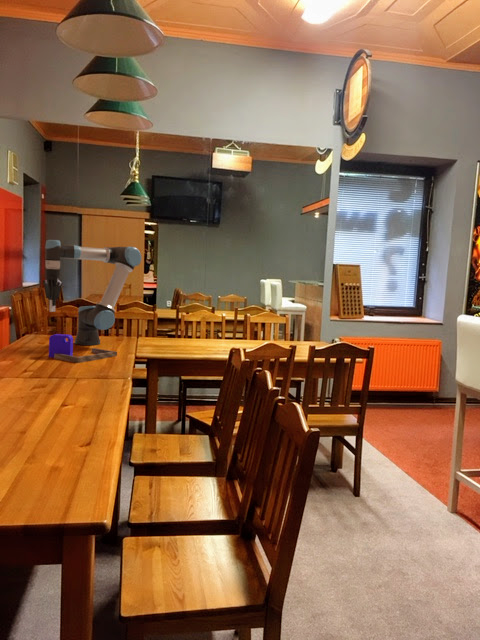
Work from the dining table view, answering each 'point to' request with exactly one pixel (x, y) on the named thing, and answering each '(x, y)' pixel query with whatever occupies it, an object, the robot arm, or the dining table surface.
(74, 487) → the dining table surface
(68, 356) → the handle
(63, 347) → the bracket
